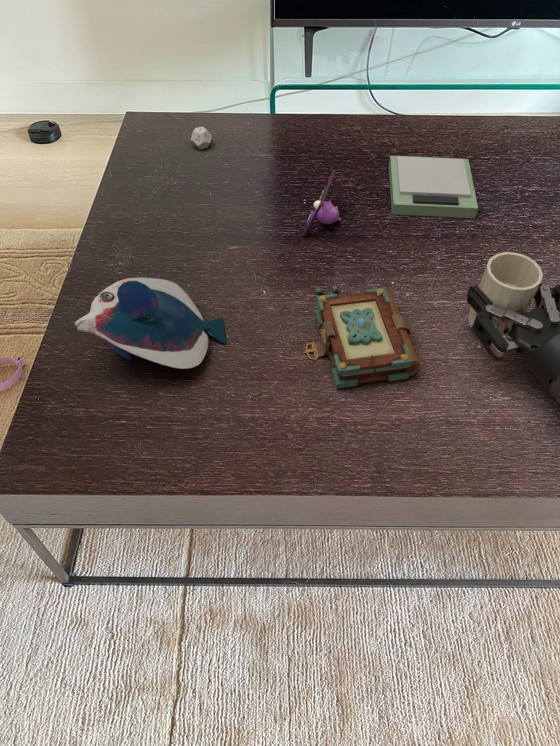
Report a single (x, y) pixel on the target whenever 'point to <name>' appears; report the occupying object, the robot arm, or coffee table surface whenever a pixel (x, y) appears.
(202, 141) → the game die
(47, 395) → the coffee table surface
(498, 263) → the cup
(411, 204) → the scale
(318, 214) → the purple winged figurine
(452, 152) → the coffee table surface
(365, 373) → the decorative book
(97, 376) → the coffee table surface
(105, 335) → the decorative fish sculpture
